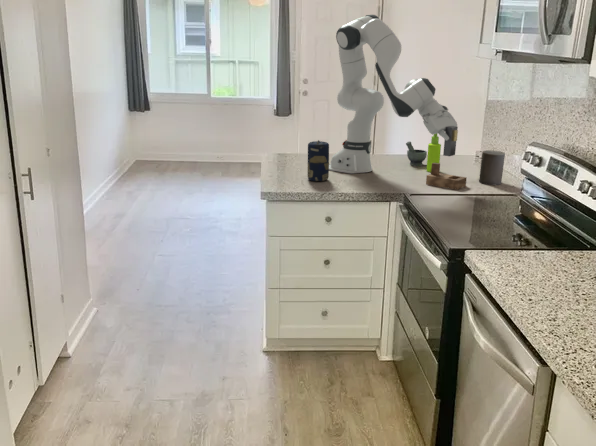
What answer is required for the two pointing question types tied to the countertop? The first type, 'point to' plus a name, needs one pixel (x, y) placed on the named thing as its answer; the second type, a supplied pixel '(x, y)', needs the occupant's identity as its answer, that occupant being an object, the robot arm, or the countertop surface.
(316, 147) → the canister
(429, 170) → the soap dispenser
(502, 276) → the countertop surface
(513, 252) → the countertop surface
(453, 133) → the lever cap
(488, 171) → the pillar candle
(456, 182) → the hand plane
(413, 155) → the mortar and pestle
